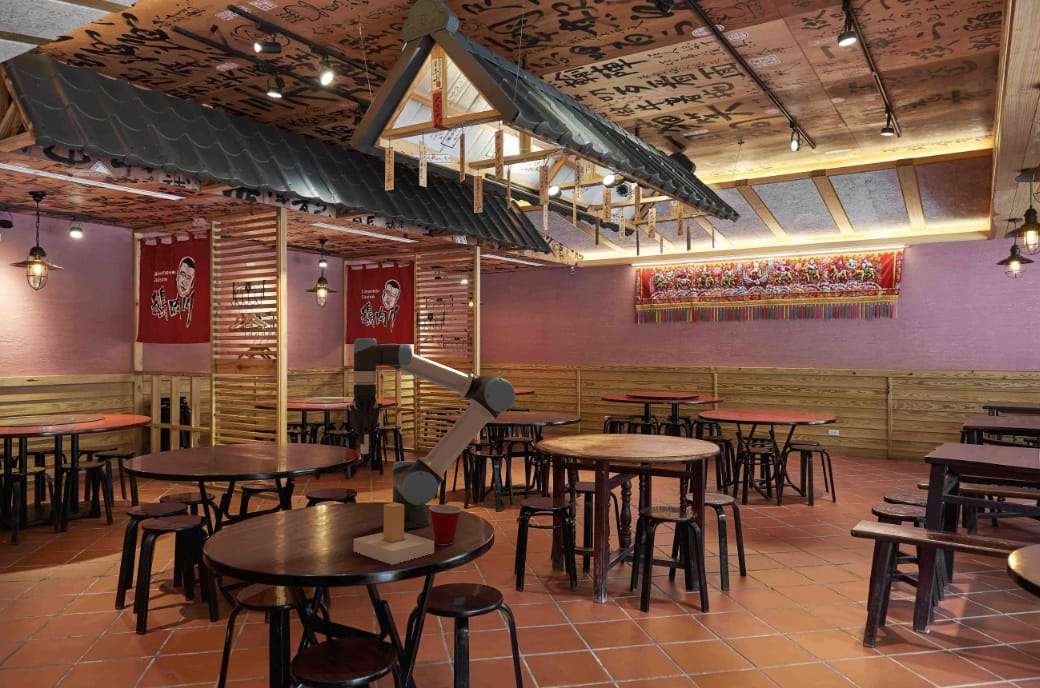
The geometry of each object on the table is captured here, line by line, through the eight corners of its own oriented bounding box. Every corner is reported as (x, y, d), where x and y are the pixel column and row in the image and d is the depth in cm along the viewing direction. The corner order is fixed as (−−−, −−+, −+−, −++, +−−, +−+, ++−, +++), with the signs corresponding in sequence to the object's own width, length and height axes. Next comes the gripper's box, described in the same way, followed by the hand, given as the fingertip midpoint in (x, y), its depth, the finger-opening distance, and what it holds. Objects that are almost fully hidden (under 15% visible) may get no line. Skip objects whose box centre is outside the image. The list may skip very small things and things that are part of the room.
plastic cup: (461, 548, 227) (462, 510, 227) (427, 548, 227) (428, 510, 227) (462, 539, 238) (462, 503, 238) (429, 539, 237) (430, 503, 238)
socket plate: (395, 541, 234) (395, 529, 234) (434, 553, 221) (434, 540, 221) (353, 551, 223) (353, 538, 223) (392, 564, 209) (392, 551, 209)
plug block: (395, 549, 225) (395, 502, 225) (403, 552, 222) (404, 504, 222) (383, 552, 222) (383, 504, 222) (392, 555, 218) (392, 506, 219)
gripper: (374, 382, 248) (374, 450, 247) (342, 383, 238) (341, 454, 238) (387, 383, 242) (386, 452, 242) (354, 384, 233) (354, 456, 233)
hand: (364, 453), depth 240 cm, fingers closed
